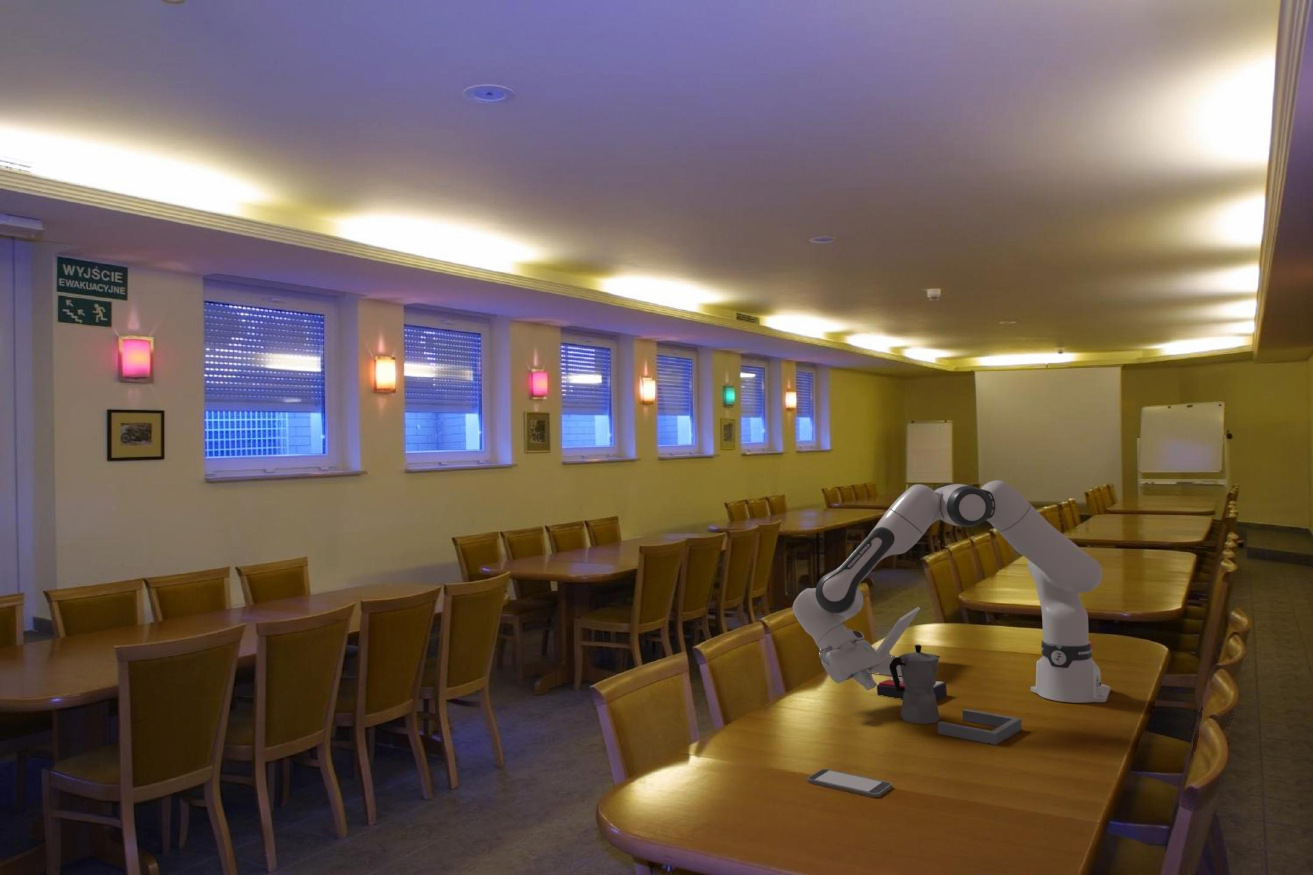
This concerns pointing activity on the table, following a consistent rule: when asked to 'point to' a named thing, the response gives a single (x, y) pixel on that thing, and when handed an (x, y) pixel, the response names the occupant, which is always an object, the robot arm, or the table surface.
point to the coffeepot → (917, 686)
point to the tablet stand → (893, 643)
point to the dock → (1004, 730)
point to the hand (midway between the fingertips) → (872, 687)
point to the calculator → (890, 690)
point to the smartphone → (850, 782)
